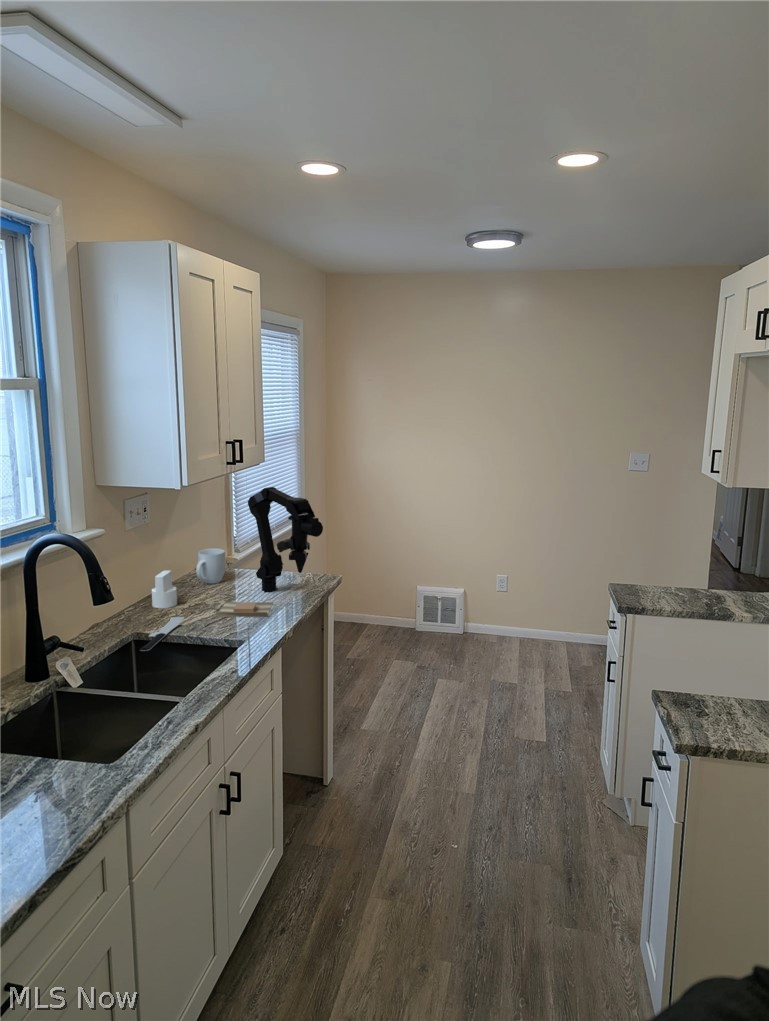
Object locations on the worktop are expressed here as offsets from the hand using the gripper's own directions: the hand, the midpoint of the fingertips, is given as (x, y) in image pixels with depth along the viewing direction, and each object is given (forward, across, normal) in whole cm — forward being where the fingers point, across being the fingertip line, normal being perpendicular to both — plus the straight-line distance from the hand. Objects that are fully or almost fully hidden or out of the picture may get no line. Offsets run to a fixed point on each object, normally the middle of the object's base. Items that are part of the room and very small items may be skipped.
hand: (300, 572), depth 259 cm
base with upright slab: (+12, +2, -51) cm, 53 cm away
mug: (+12, -27, -40) cm, 50 cm away
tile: (+10, +8, -19) cm, 23 cm away
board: (+12, +10, -19) cm, 25 cm away
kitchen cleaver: (+13, +33, -44) cm, 56 cm away
